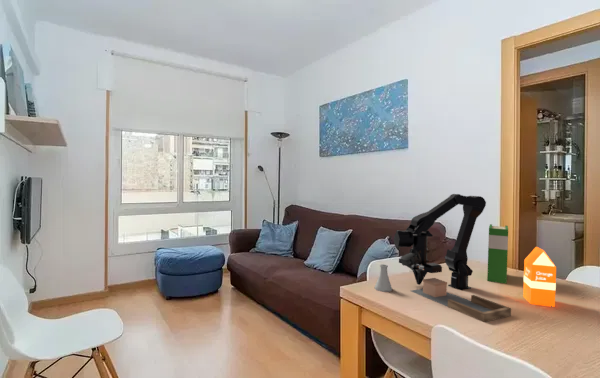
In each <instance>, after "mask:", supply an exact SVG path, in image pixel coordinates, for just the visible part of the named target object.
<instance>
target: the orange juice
mask: <svg viewBox="0 0 600 378" xmlns="http://www.w3.org/2000/svg"><path fill="white" fill-rule="evenodd" d="M523 264H524V266H523V291H522V292H523V293H522V297H523V298H524V299H525V300H526V301H527V302H528V303H529V304H530V305H536V306H544V307H551V306H552V308H555V306H556V290H557V289H556V288H557V283H556V282H557V266H556V265H555V264H554V262H553V261H552V259H551V258H550V257H549V255H548V254H547V253H546V251H545V250H544V249H542V248H540V247H538V246H535V247H534V248H533V249H532V251H530V253H529V254H528V255H527V256H526V257H525V259H524V261H523Z"/></svg>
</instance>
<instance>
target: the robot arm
mask: <svg viewBox="0 0 600 378" xmlns="http://www.w3.org/2000/svg"><path fill="white" fill-rule="evenodd" d="M458 205H460V206H461V205H462V211H463V217H462V221H461V223H460V225H459V226H460V227H459V231H458V233H457V236H456V239H455V243H454V245H453V247H452V248H451V249H447V250H446V254H445V256H444V259H445V260H444V261H445V265H446V266H447V268H448V270H449V271H450V272H451V276H450V284H447V286H448V287H450V288H453V289H456V290H459V291H464V290H470V289H472V287H471V286H469V276H472V274H473V272H474V271H473V269H472V268H471V267H470V266H469V265H468V254H467V250H468V247H469V244H470V241H471V238H472V233H473V232H474V231H473V230H474V228H475V225H476V222H477V219H478V218H479V216H480V215H481V214H482V213H483V212H484V210H485V208H486V206H487V201H486V200H485V198H484V197H482V196H480V195H478V196H477V195H467V196H466V195H463V194H459V193H452V194H450V195H449V196H448V197H447V198H445V199H444V200H442V201H441V202H440V203H438V204H437V205H435V206H434V207H433V208H431V209H429V210H428V211H426V212H423V213H419V214H418V215H415V216H414V217H412V219H411V220H410V221H411V222H410V224H409V225H408V226H407V227H406V229H405V230H398V229H397V230H396V231H395V233H394V236H393V245H394V247H396V248H410V249H409V253H406V254H404V255H400V256H399V258H398V263H399V264H401V265H402V266H405V267H407V268H409V269H410V270H411V271H412V272H413V275H414V278H415V282H416V284H417V285H421V284H422V282H423V279H425V277H426V276H427V274H429V273H430V274H436V273H438V274H439V273H442V272H443V266H442V265H441V264H439V263H435V262H430V259H428V253H430V250H429V249H428V238H429V237H431V238H432V237H433V234H432V233H431V232H430V231H429V230H430V228H432V227H433V226H434V224H435V222H436V221H437V220H438V219H439V218H441V217H443V215H446V213H448V212H449V211H451V210H452V209H454V208H455V207H457V206H458ZM411 247H412V248H411Z"/></svg>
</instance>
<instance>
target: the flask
mask: <svg viewBox="0 0 600 378" xmlns="http://www.w3.org/2000/svg"><path fill="white" fill-rule="evenodd" d="M379 267H380V268H379V269H380V270H379V275H378V277H377V280H376V283H375V285H374V289H375V290H376V291H377V292H378V291H379V292H384V293H385V292H392V290H393V287H392V284H391V281H390V279H389V275H388V264H384V263H383V264H382V263H381V264H379Z"/></svg>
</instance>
